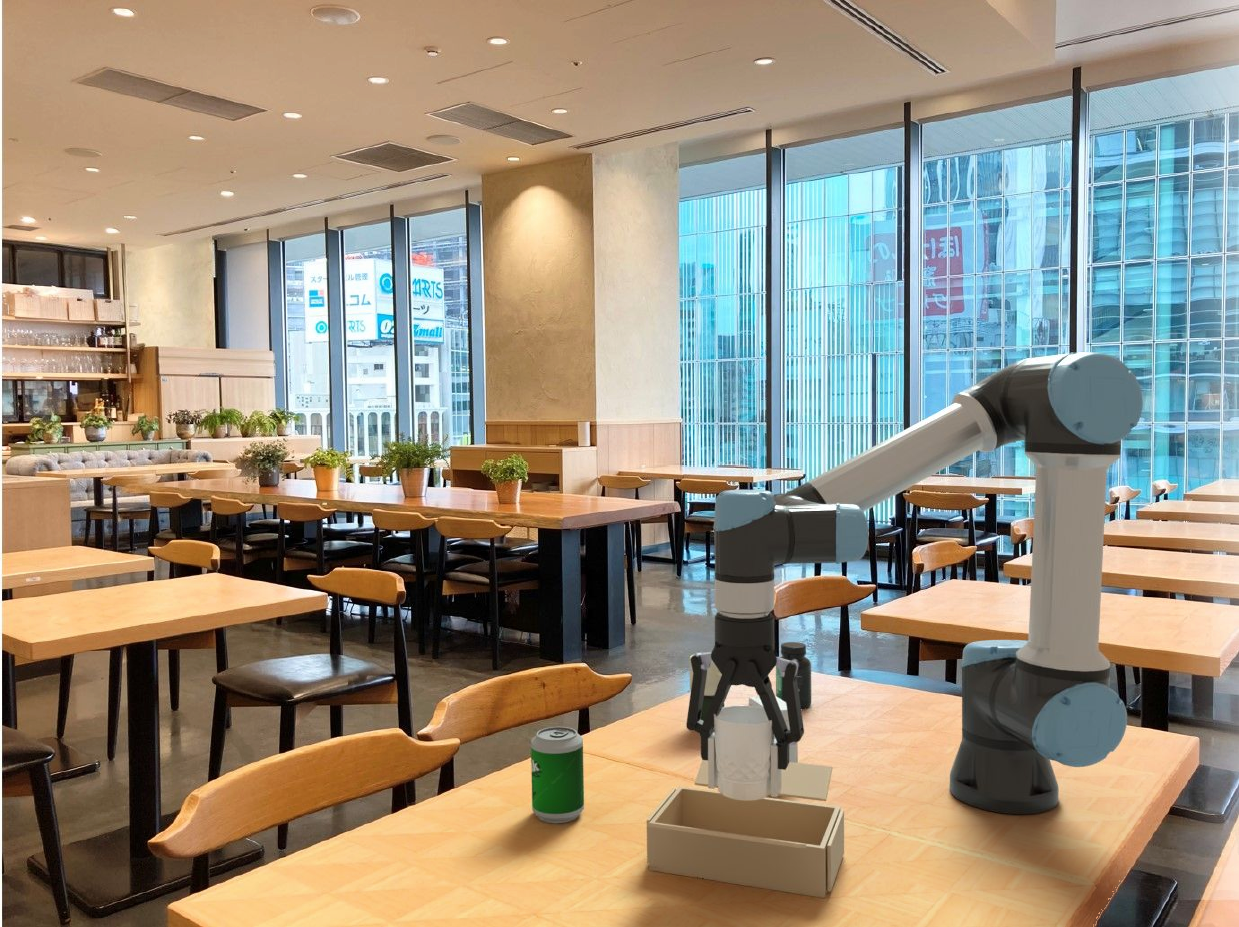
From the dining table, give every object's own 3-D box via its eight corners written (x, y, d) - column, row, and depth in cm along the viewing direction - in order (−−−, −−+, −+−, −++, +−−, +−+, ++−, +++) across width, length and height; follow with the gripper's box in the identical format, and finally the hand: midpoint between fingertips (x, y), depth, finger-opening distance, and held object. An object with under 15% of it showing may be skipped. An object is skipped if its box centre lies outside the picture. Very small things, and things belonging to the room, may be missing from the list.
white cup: (760, 808, 121) (760, 728, 120) (702, 795, 125) (702, 717, 125) (785, 787, 128) (785, 711, 127) (729, 775, 132) (730, 701, 131)
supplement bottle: (775, 709, 190) (775, 648, 190) (776, 699, 197) (775, 640, 197) (811, 711, 189) (811, 649, 189) (811, 700, 196) (810, 641, 195)
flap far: (826, 801, 130) (832, 768, 135) (825, 799, 130) (832, 766, 135) (694, 785, 137) (705, 754, 142) (694, 782, 136) (705, 752, 141)
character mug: (742, 732, 177) (741, 661, 177) (708, 738, 174) (707, 666, 174) (710, 716, 187) (710, 648, 186) (678, 721, 184) (677, 652, 183)
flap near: (806, 844, 117) (797, 843, 111) (806, 848, 116) (797, 847, 111) (661, 824, 123) (646, 822, 118) (661, 827, 123) (646, 826, 118)
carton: (845, 852, 129) (845, 807, 128) (829, 898, 117) (829, 849, 116) (675, 828, 137) (675, 785, 137) (644, 869, 125) (643, 822, 125)
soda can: (593, 809, 144) (591, 728, 143) (569, 829, 137) (567, 744, 137) (548, 801, 147) (546, 722, 147) (522, 820, 140) (520, 737, 140)
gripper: (829, 611, 125) (829, 788, 126) (676, 601, 132) (677, 769, 133) (820, 623, 118) (819, 810, 119) (658, 612, 125) (660, 789, 126)
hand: (744, 788), depth 126 cm, fingers closed on white cup, 7 cm apart
